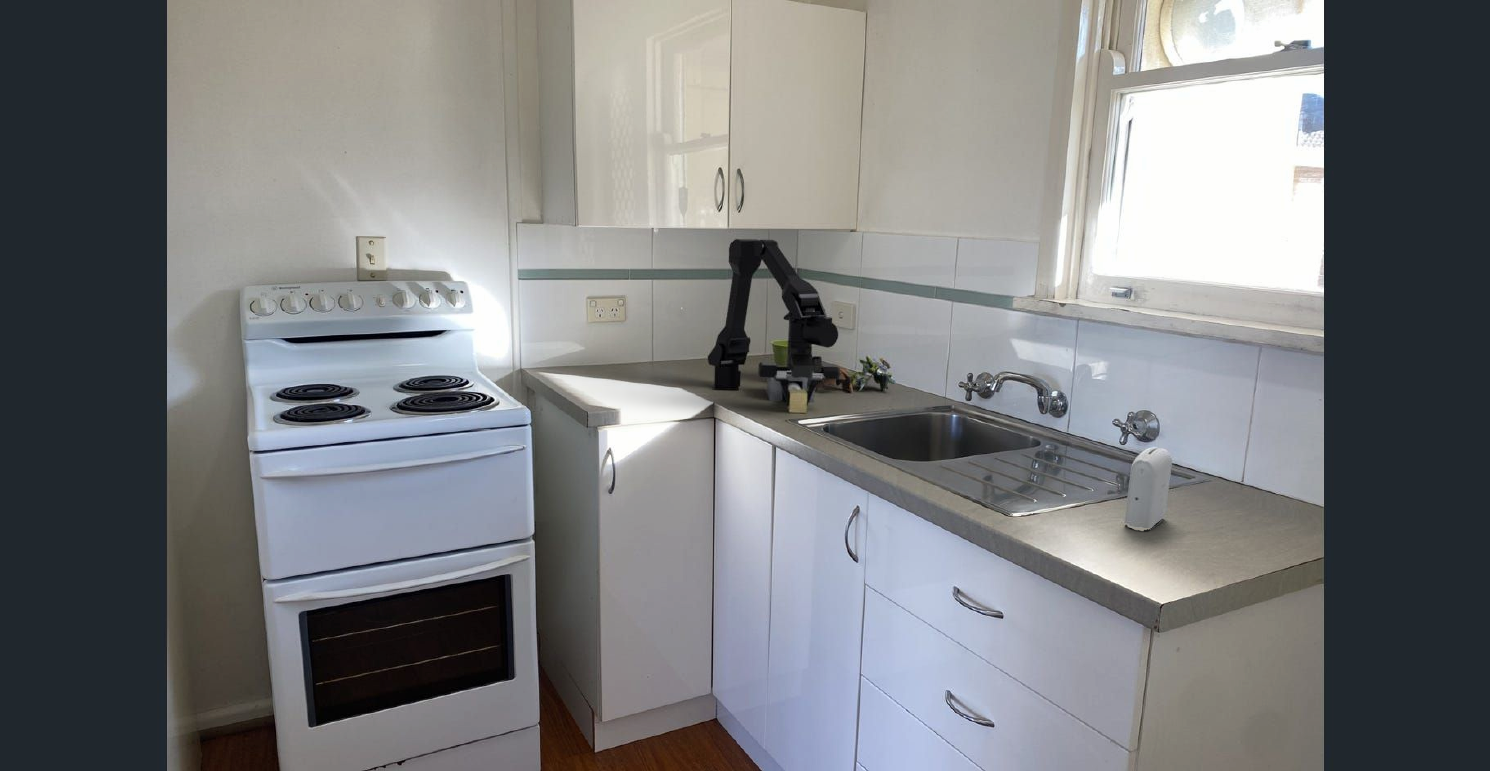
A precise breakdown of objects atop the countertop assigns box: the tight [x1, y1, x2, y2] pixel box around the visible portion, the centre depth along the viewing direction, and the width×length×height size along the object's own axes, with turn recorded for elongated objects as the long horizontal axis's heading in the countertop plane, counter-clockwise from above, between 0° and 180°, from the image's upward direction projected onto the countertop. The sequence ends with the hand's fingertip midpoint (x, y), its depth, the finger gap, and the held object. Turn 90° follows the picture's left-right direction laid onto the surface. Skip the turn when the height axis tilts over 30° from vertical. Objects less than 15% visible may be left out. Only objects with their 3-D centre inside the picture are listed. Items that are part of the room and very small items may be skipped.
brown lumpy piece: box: [815, 363, 854, 394], centre depth 244 cm, size 12×10×8 cm
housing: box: [766, 374, 815, 403], centre depth 234 cm, size 11×11×6 cm
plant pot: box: [770, 339, 815, 366], centre depth 250 cm, size 12×12×11 cm
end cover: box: [782, 381, 808, 414], centre depth 224 cm, size 18×4×5 cm, turn 3°
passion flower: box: [845, 355, 896, 393], centre depth 245 cm, size 11×11×12 cm
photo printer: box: [1124, 446, 1173, 528], centre depth 146 cm, size 10×4×12 cm, turn 140°
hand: (796, 405), depth 218 cm, fingers closed on end cover, 4 cm apart
